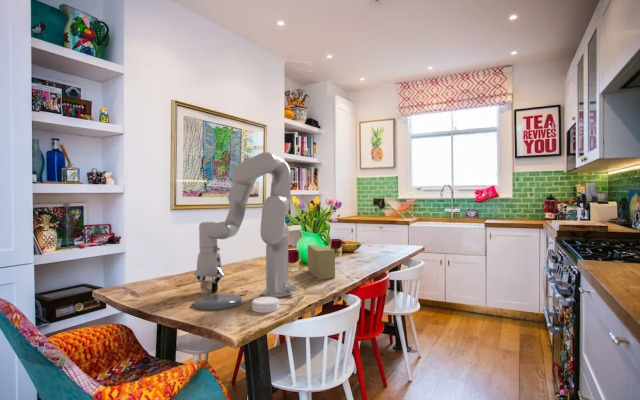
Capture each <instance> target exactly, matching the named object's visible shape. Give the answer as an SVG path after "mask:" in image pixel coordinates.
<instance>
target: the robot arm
mask: <svg viewBox="0 0 640 400" xmlns="http://www.w3.org/2000/svg"><path fill="white" fill-rule="evenodd" d="M266 174H268V175H270V176H271V182H270V183H271V184H270V194H269V196H268V197H266V199H265V200H264V202H263V205H262V209H261V219H260V220H261V221H260V230H259V231H260V237H261V240H262V242H263V243H265V244H266V247H265V269H266V270H265V282H266V283H265V284H266V285H265V286H266V287H265V289H263V290H262V295H263V297H275V298H283V297H288V296H290V295H292V294H293V292H298V286H297V285H292V284H291V281H289V239H290V230H289V227H288V226H289V225H288V224H287V223H286V222H285V219H286V215H287V214H288V213H289V210H290V205H291V204H290V203H291V189H292V171H291V168H290V166H289V164H288V163H287V162H286V161H285V160H284V159H283V158H281V157H279V156H278V155H276V154H273V153H272V152H268V151H265V152H261V153H258V154H256V155H253V156H252V157H251V158H248V159H245V160H243V161H242V162H239V163H238V164H236V165H235V166H234V167H233V168H232V171H231V178H232V181H233V182H232V185H231V188H230V190H229V193H228V195H227V200H228V203H229V210H228V213H227V216H226V218H225V220H224V221H219V222H218V221H217V222H215V221H203V222H202V221H201V222H200V223H199V225H198V232H199V233H198V234H199V235H198V236H199V243H198V244H199V247H198V248H199V253H198V254H197V260H196V261H197V262H196V270H195V271H194V273H193V275H194V276H195V277H196V279H197V280H198V282H199V283H200V284H201V281H204V280H207V277H210V278H211V279H212V280H213V283H212V292H213V293H212V294H214V293H216V292H218V289H219V285H218V284H219V283H220V280H221V279H222V278H224V276H225V274H224V272H223V267H222V266H223V265H222V260H221V254H220V252H219V251H220V247H218V240H226V239H229V238H232V237H234V236H236V235H237V233H238V232H239V230H240V229H241V225H242V223H243V221H244V218H245V213H246V209H247V203H248V201H249V198H250V196H251V194H252V191H253V189H254V186H255V184H256V180H257V179H258V178H260V177H262V176H264V175H266Z"/></svg>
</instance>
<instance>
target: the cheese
mask: <svg viewBox="0 0 640 400" xmlns="http://www.w3.org/2000/svg"><path fill="white" fill-rule="evenodd" d="M308 271H309V273H310V274H311V275H313V276H314V277H315V278H316V279H317V280H319V281H320V280H321V281H322V280H331V279H334V278H335V277H336V251H335V249H332V248H328V247H323V246H322V247H321V246H318V245H314V244H308V245H307V272H308ZM330 278H331V279H330Z"/></svg>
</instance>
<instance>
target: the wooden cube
mask: <svg viewBox="0 0 640 400" xmlns="http://www.w3.org/2000/svg"><path fill="white" fill-rule="evenodd" d="M212 283H213V280H212V278H211V279H209V278H208V279H207V278H206V279H205V280H204V281H201V283H200V294H204V295H205V294H206V295H213V294H214V293H213V292H212Z"/></svg>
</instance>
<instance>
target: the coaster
mask: <svg viewBox="0 0 640 400" xmlns="http://www.w3.org/2000/svg"><path fill="white" fill-rule="evenodd" d="M279 302H280V300H279V298H278V297H267V296H260V297H256V298H254V299H253V300H252V301H251V310H252V311H253V312H255V313H259V314H261V313H262V314H267V313H273V312H275V311H277V310H279V308H280V304H279Z"/></svg>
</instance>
